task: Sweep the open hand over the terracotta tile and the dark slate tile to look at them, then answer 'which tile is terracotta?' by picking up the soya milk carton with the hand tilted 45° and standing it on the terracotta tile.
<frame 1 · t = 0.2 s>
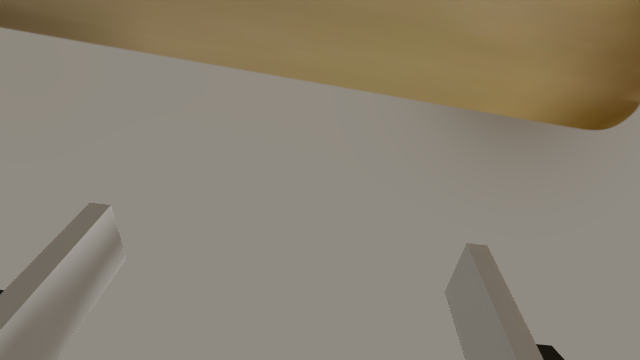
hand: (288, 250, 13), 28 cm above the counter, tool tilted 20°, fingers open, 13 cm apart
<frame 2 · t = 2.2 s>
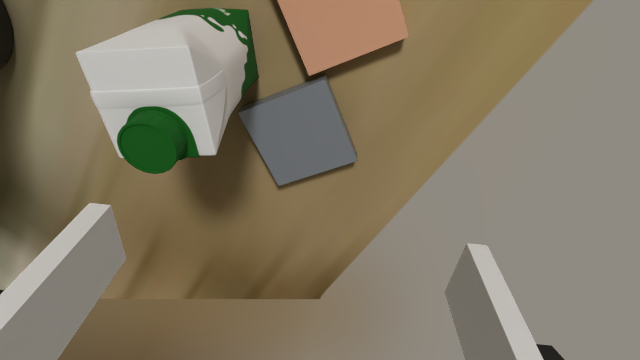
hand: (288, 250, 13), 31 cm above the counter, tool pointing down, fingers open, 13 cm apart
soya milk: (223, 45, 39), on the counter
slate tile: (301, 130, 44), on the counter
terracotta tile: (338, 0, 36), on the counter
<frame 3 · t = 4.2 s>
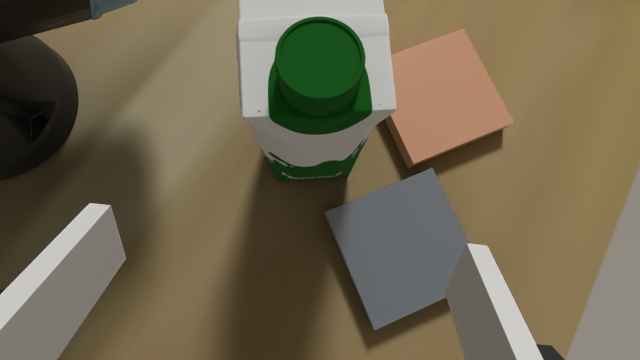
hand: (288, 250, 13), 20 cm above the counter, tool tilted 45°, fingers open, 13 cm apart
soya milk: (310, 144, 35), on the counter
slate tile: (399, 245, 34), on the counter
terracotta tile: (432, 101, 37), on the counter
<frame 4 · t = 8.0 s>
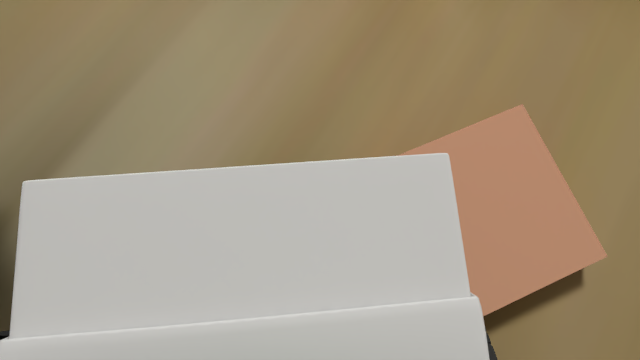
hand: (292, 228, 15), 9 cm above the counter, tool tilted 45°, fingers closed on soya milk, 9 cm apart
soya milk: (291, 286, 23), on the counter, touching gripper
terracotta tile: (475, 212, 24), on the counter
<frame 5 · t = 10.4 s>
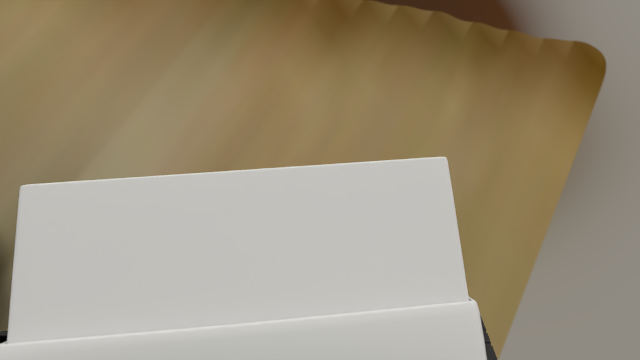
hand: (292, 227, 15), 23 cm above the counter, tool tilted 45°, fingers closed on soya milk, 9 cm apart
soya milk: (291, 287, 23), point 14 cm above the counter, touching gripper
when the fingers open (13 cm above the counter, at t = 13.0 s): soya milk drops 1 cm, resting on terracotta tile.
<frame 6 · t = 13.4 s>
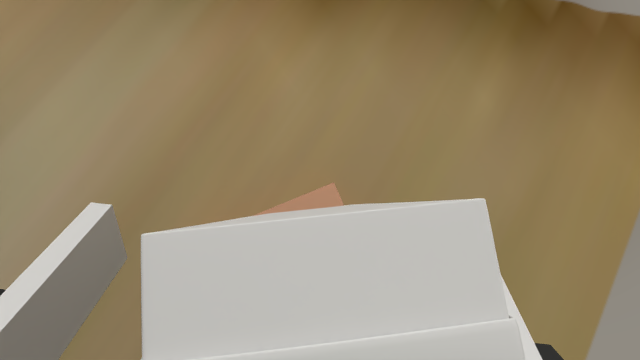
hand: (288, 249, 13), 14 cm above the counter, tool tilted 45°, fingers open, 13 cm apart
soya milk: (315, 295, 25), point 2 cm above the counter, touching terracotta tile
terracotta tile: (293, 281, 26), on the counter
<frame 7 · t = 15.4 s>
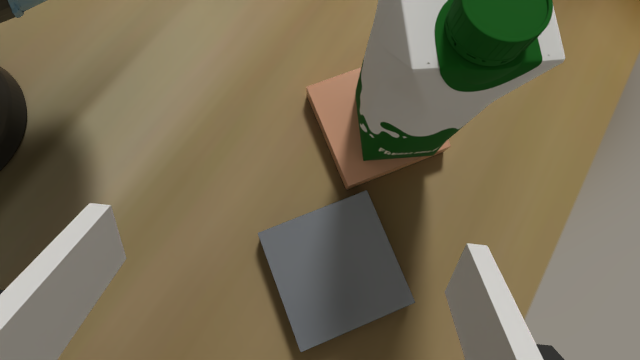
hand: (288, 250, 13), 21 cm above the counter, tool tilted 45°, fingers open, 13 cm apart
soya milk: (393, 124, 35), point 2 cm above the counter, touching terracotta tile
slate tile: (333, 266, 34), on the counter
terracotta tile: (374, 123, 37), on the counter
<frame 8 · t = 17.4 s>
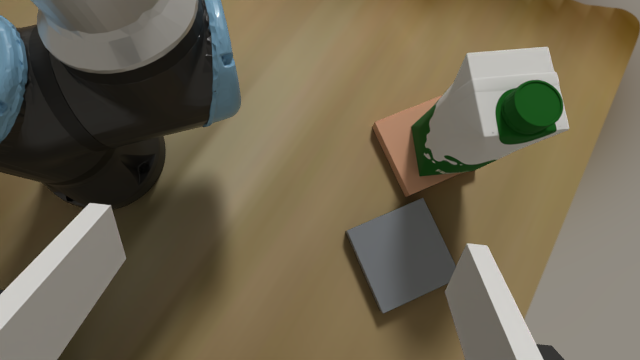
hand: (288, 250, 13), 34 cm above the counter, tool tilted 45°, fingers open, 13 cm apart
soya milk: (439, 148, 48), point 2 cm above the counter, touching terracotta tile
slate tile: (399, 253, 47), on the counter
terracotta tile: (423, 147, 50), on the counter
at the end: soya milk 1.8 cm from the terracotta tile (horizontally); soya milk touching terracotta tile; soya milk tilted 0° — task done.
